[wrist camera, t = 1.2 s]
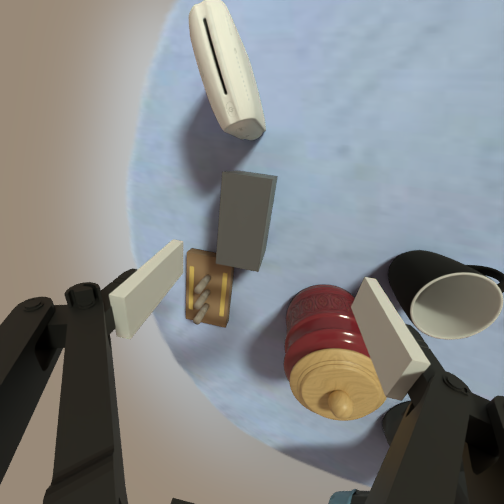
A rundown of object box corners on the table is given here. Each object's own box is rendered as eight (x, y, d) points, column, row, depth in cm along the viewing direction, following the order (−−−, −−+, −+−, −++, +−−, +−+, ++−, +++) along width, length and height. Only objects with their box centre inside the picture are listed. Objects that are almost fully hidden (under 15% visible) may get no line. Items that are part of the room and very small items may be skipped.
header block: (228, 320, 44) (218, 345, 38) (190, 312, 45) (174, 334, 39) (235, 256, 39) (224, 272, 33) (191, 248, 40) (173, 262, 34)
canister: (367, 284, 36) (426, 379, 20) (357, 346, 41) (398, 465, 25) (286, 280, 39) (281, 363, 22) (285, 340, 43) (280, 444, 27)
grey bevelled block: (265, 250, 37) (258, 271, 30) (230, 244, 38) (215, 263, 31) (277, 176, 33) (272, 179, 25) (238, 170, 34) (222, 171, 26)
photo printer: (270, 135, 31) (256, 117, 20) (241, 145, 32) (213, 134, 21) (248, 48, 28) (217, -32, 17) (217, 63, 29) (169, -3, 18)
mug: (383, 299, 37) (414, 344, 27) (375, 250, 34) (405, 282, 25) (470, 284, 34) (538, 330, 24) (468, 229, 31) (543, 256, 22)
